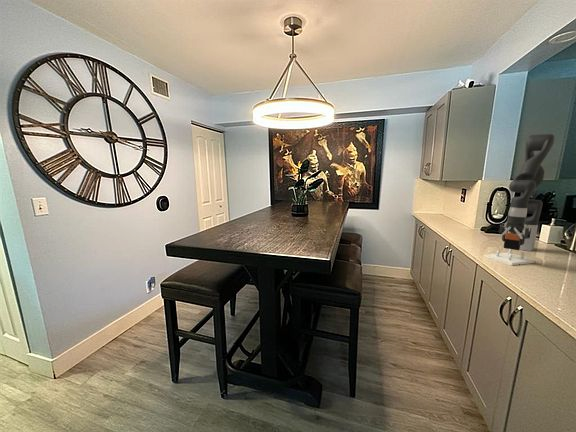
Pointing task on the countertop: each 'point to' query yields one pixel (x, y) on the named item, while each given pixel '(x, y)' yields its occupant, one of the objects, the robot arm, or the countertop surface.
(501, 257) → the pin dock
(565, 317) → the countertop surface
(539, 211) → the robot arm
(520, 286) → the countertop surface
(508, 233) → the battery
